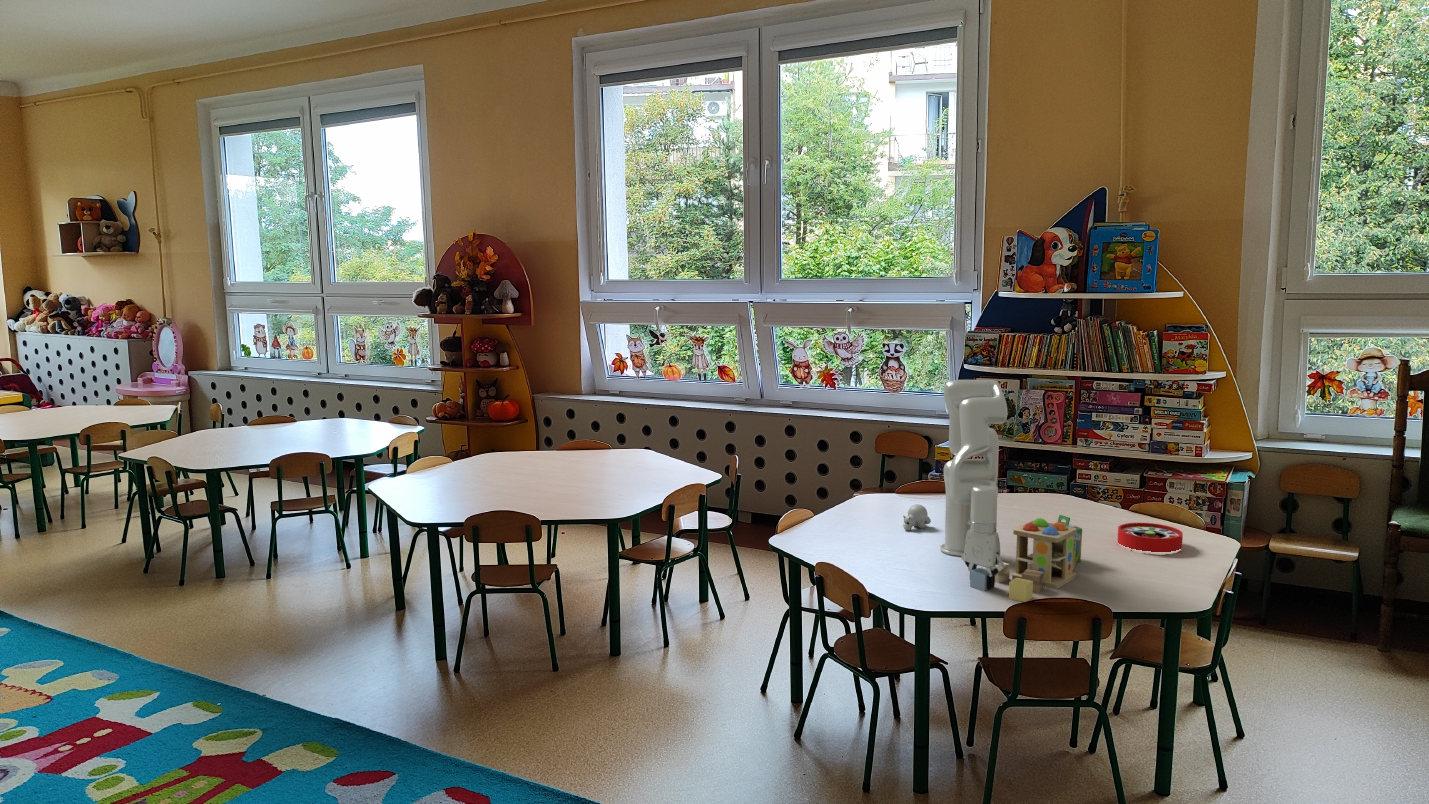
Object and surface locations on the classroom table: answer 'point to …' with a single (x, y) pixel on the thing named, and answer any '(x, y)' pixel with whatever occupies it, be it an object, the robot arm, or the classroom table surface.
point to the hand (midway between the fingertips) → (982, 585)
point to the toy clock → (1150, 537)
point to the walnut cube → (1034, 579)
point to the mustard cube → (1020, 589)
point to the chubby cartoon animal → (916, 517)
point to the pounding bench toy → (1046, 551)
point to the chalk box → (1076, 538)
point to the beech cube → (1002, 573)
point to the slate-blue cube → (979, 578)
